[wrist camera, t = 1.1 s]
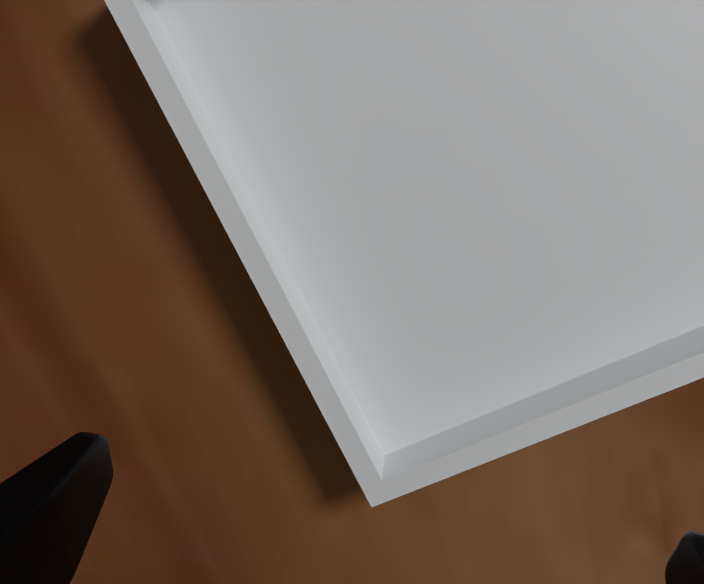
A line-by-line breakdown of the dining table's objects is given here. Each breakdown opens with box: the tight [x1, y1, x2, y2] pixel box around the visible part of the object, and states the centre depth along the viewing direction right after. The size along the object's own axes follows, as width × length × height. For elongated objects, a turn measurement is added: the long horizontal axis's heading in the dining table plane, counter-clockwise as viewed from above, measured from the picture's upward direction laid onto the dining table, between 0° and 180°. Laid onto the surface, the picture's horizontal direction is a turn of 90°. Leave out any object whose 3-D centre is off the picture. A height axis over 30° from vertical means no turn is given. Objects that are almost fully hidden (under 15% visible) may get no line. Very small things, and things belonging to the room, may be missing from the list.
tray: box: [104, 0, 704, 507], centre depth 20 cm, size 20×20×2 cm
